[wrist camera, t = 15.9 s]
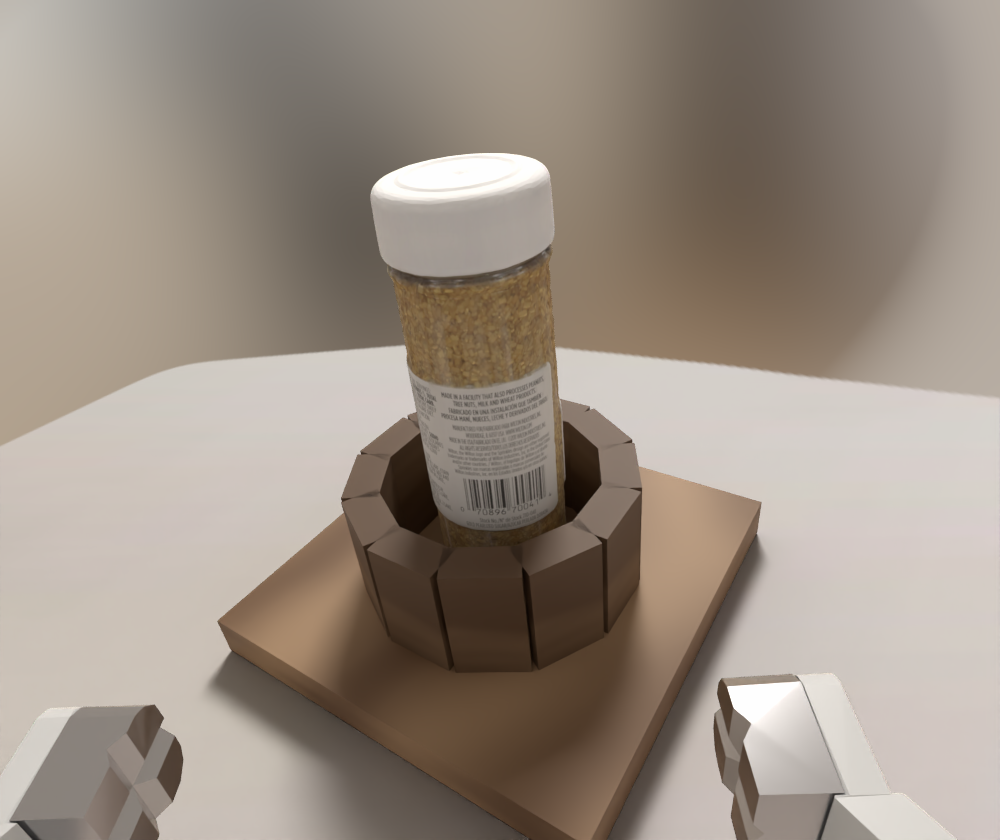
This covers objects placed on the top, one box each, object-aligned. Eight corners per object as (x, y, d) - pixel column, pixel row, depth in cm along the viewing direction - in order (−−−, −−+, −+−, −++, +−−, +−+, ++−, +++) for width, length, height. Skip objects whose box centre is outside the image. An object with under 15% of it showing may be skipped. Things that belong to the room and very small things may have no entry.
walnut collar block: (230, 649, 24) (176, 533, 21) (463, 439, 34) (447, 338, 31) (588, 876, 17) (582, 751, 14) (757, 532, 27) (774, 412, 24)
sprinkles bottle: (573, 517, 26) (556, 142, 19) (568, 612, 22) (543, 191, 15) (454, 515, 27) (392, 153, 19) (430, 607, 23) (341, 203, 16)
